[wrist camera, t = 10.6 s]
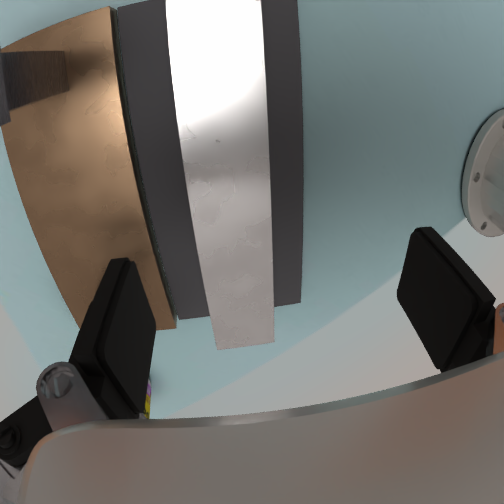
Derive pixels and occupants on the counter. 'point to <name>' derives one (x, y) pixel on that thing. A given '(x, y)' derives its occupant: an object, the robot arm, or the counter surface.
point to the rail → (226, 159)
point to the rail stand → (79, 159)
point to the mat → (170, 155)
